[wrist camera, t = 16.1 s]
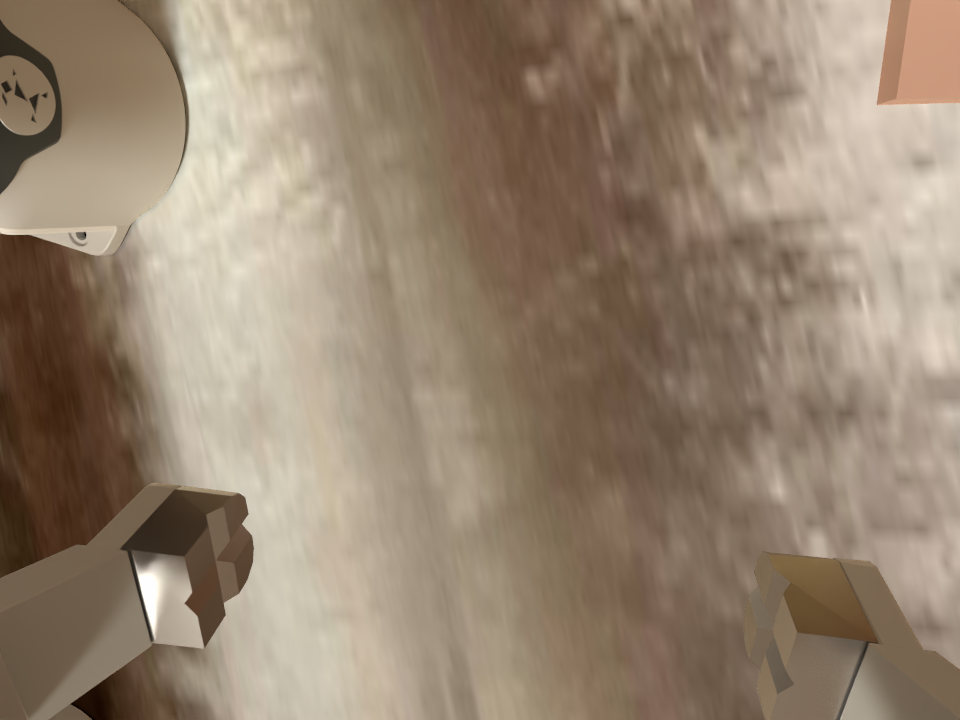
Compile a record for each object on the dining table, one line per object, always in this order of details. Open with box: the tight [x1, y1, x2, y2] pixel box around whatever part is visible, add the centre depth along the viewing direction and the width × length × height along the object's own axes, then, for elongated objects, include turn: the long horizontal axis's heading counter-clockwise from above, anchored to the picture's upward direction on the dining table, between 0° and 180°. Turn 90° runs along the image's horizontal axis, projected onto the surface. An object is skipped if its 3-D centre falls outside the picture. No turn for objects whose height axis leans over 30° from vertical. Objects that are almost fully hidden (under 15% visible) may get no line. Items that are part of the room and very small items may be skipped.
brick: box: [877, 0, 960, 105], centre depth 32 cm, size 5×5×3 cm
